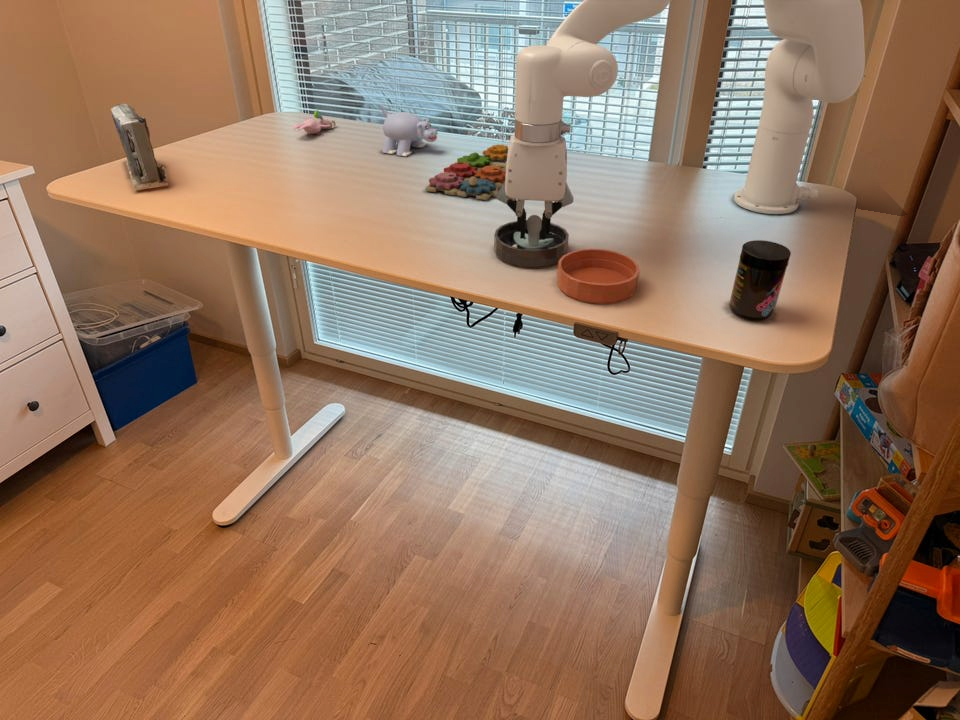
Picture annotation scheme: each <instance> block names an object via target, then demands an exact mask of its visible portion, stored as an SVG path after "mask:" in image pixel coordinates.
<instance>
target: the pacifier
mask: <svg viewBox="0 0 960 720" xmlns="http://www.w3.org/2000/svg"><path fill="white" fill-rule="evenodd" d="M526 220H527V222H526V227H527V230H528V234H526V233H525V237H524V238H526V239H521V238H520V232H515V233H514V240H515V242H516V243H517V244H515V245H513V246H512V247H517V248H519V247H523V249H534V250H535V249H544V248H543V247H545V246H547V245H549V244H550V243H552V242H553V240H554V239H553V238H550V239H545V240H539V234H540V230H541V229H542V217H540V216H539V215H537V214H532V215H530V216H528V217H527V218H526Z"/></svg>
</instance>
